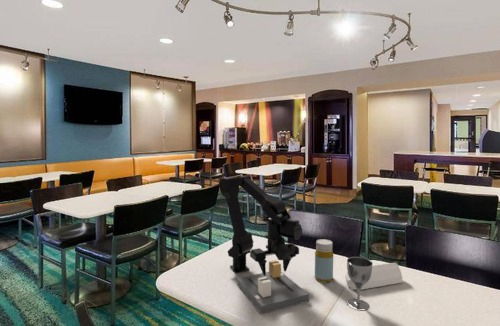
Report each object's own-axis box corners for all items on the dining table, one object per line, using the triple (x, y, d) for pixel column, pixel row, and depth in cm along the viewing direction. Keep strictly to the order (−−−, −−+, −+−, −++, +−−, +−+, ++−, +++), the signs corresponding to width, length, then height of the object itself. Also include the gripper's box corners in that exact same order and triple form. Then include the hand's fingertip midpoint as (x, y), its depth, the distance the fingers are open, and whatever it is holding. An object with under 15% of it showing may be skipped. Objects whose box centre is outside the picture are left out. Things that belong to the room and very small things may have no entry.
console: (237, 284, 118) (237, 278, 118) (278, 275, 126) (278, 269, 125) (261, 313, 99) (261, 305, 99) (308, 301, 107) (308, 293, 106)
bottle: (333, 283, 119) (334, 245, 118) (314, 281, 120) (315, 244, 119) (332, 275, 126) (333, 239, 124) (314, 273, 127) (315, 238, 126)
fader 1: (257, 291, 107) (257, 277, 107) (265, 290, 109) (265, 275, 108) (263, 297, 104) (263, 282, 103) (271, 295, 105) (271, 280, 104)
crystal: (389, 263, 128) (338, 271, 121) (401, 261, 122) (348, 269, 115) (395, 283, 125) (343, 291, 118) (407, 281, 119) (353, 290, 112)
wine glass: (358, 313, 99) (360, 268, 98) (340, 301, 106) (342, 259, 105) (376, 307, 103) (377, 263, 101) (357, 296, 110) (359, 255, 109)
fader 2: (268, 273, 121) (269, 260, 121) (275, 272, 123) (275, 259, 122) (273, 278, 118) (273, 264, 117) (280, 276, 119) (280, 263, 118)
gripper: (262, 244, 108) (262, 287, 109) (307, 237, 115) (307, 277, 117) (249, 234, 118) (249, 274, 119) (291, 228, 125) (291, 266, 127)
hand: (274, 273), depth 120 cm, fingers open, 9 cm apart
